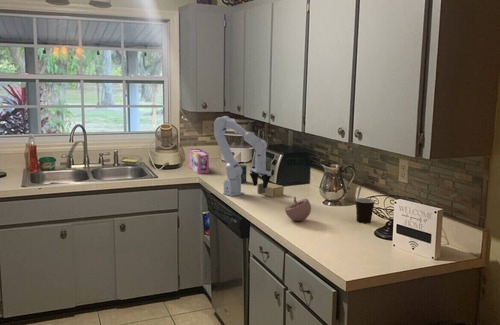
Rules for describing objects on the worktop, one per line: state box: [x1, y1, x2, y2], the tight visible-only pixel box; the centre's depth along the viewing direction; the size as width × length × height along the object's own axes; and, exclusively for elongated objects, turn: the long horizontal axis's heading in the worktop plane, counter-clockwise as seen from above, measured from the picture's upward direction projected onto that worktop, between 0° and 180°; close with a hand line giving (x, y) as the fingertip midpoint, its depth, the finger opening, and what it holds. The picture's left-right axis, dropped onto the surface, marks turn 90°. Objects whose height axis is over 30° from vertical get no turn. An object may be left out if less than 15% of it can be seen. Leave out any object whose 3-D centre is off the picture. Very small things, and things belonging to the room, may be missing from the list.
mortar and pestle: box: [284, 196, 312, 222], centre depth 229 cm, size 12×12×12 cm
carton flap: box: [257, 182, 274, 198], centre depth 273 cm, size 12×5×7 cm, turn 44°
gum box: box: [188, 148, 210, 175], centre depth 340 cm, size 24×8×14 cm, turn 23°
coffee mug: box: [355, 197, 375, 224], centre depth 230 cm, size 12×9×10 cm
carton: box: [267, 182, 285, 198], centre depth 278 cm, size 8×12×5 cm, turn 44°
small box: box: [239, 164, 247, 184], centre depth 308 cm, size 11×6×10 cm, turn 62°
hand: (260, 186), depth 272 cm, fingers open, 7 cm apart
